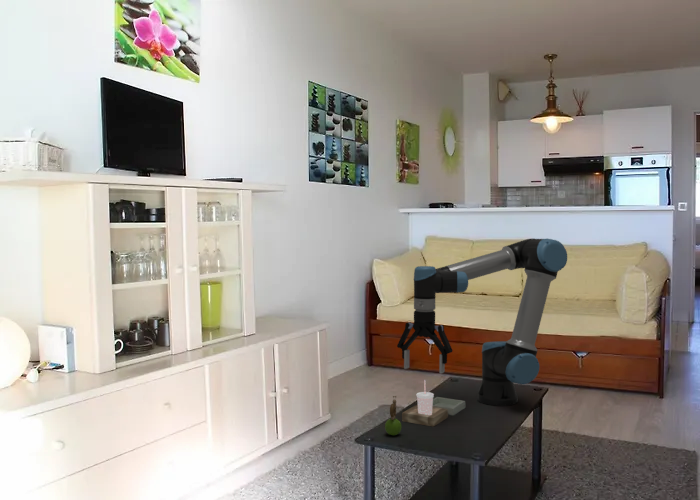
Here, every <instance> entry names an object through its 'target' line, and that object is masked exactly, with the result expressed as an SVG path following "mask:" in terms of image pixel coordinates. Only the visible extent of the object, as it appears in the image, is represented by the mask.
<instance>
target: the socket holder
mask: <svg viewBox="0 0 700 500" xmlns="http://www.w3.org/2000/svg"><path fill="white" fill-rule="evenodd" d="M448 418H449V415H448V409H443V408H437V407H432V415H425V414H419V413H418V403H417V404H415V405H413V406H412V407H410V408H408V409H407V410H405V411H403V412H402V413H401V421H402V422H405V423H412V424H416V425H423V426H427V427H436V426H437V425H439V424H440V423H442V422H444V420H446V419H448Z"/></svg>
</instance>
